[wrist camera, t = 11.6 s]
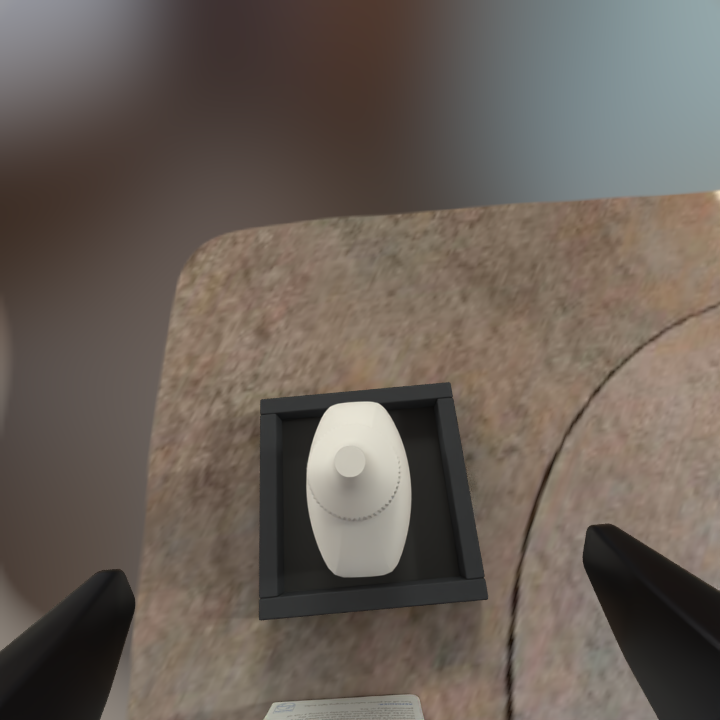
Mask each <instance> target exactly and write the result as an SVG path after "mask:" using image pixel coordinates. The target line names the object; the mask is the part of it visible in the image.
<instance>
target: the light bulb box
mask: <svg viewBox="0 0 720 720" xmlns="http://www.w3.org/2000/svg"><path fill="white" fill-rule="evenodd" d="M264 720H424V717H423V713H422V709H421V704H420V700H419V698H418V696H416V695H411V694H406V695H385V696H368V697H354V698H339V699H321V700H306V701H290V702H274V703H273V704H272V706H271V707H270V709H269V711H268V713H267V714H266V716H265V718H264Z"/></svg>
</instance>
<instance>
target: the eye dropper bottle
mask: <svg viewBox="0 0 720 720" xmlns="http://www.w3.org/2000/svg"><path fill="white" fill-rule="evenodd" d="M307 465H308V466H307V468H306V469H307V473H306V474H307V483H306V488H307V503H308V510H309V516H310V520H311V525H312V529H313V532H314V536H315V539H316V542H317V545H318V547H319V550H320V552H321V555H322V557H323V559H324V561H325V563H326V565H327V566H328V568H329V569H330V570H331V571H332V572H333V573H334V574H335V575H338V576H341V577H371V576H380V575H385V574H387V573H390V572H392V571H393V570H394V568H395V567H396V566H397V564H398V562H399V560H400V557H401V555H402V552H403V548H404V545H405V541H406V537H407V533H408V527H409V521H410V513H411V479H410V471H409V466H408V460H407V456H406V452H405V449H404V446H403V443H402V440H401V437H400V435H399V432H398V430H397V428H396V426H395V424H394V422H393V420H392V419H391V417H390V415H389V414H388V412H387V411H386V409H385V408H384V407H382V406H381V405H380V404H379V403H375V402H348V403H340V404H336V405H333V406H331V407H329V408H328V410H327V411H326V412H325V413H324V415H323V417H322V418H321V420H320V423H319V425H318V427H317V430H316V433H315V435H314V438H313V442H312V445H311V449H310V454H309V458H308V463H307Z"/></svg>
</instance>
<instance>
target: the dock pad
mask: <svg viewBox="0 0 720 720" xmlns="http://www.w3.org/2000/svg"><path fill="white" fill-rule="evenodd" d="M452 397H453V395H452V389H451V384H450V382H447V383H436V384H425V385H414V386H403V387H392V388H381V389H370V390H360V391H349V392H338V393H327V394H316V395H305V396H294V397H283V398H272V399H262V400H261V401H260V414H261V416H260V553H259V597H260V598H261V599H260V600H259V620H269V619H280V618H291V617H302V616H313V615H324V614H335V613H346V612H357V611H368V610H379V609H390V608H401V607H412V606H423V605H434V604H445V603H456V602H466V601H477V600H487V599H488V593H487V587H486V581H485V579H484V570H483V565H482V559H481V553H480V548H479V542H478V536H477V531H476V525H475V519H474V514H473V508H472V502H471V497H470V491H469V485H468V480H467V474H466V468H465V463H464V457H463V451H462V446H461V440H460V434H459V429H458V423H457V417H456V412H455V406H454V400H453V398H452ZM348 402H375V403H379V404H380V405H381V406H382V407H384V408H385V409H386V411H387V412H388V414H389V415H390V417H391V419H392V420H393V422H394V424H395V426H396V428H397V430H398V432H399V435H400V437H401V440H402V443H403V446H404V449H405V452H406V456H407V460H408V466H409V471H410V479H411V513H410V521H409V527H408V533H407V537H406V541H405V545H404V548H403V552H402V555H401V557H400V560H399V562H398V564H397V566H396V567H395V568H394V570H393V571H392V572H390V573H387V574H385V575H380V576H371V577H341V576H338V575H335V574H334V573H333V572H332V571H331V570H330V569H329V568H328V566H327V565H326V563H325V561H324V559H323V557H322V555H321V552H320V550H319V547H318V545H317V542H316V539H315V536H314V532H313V529H312V525H311V520H310V516H309V510H308V503H307V488H306V483H307V474H306V473H307V469H306V468H307V466H308V465H307V463H308V458H309V454H310V449H311V445H312V442H313V438H314V435H315V433H316V430H317V427H318V425H319V423H320V420H321V418H322V417H323V415H324V413H325V412H326V411H327V410H328V408H329V407H331V406H333V405H336V404H340V403H348Z"/></svg>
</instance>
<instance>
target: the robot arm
mask: <svg viewBox="0 0 720 720" xmlns="http://www.w3.org/2000/svg"><path fill="white" fill-rule="evenodd" d="M583 564H584V568H585V570H586V573H587V575H588V577H589V579H590V582H591V584H592V586H593V588H594V591H595V593H596V595H597V598H598V600H599V602H600V604H601V607H602V609H603V611H604V613H605V616H606V618H607V620H608V622H609V625H610V627H611V629H612V631H613V634H614V636H615V638H616V640H617V642H618V645H619V647H620V649H621V651H622V653H623V655H624V657H625V659H626V661H627V663H628V665H629V666H630V668H631V670H632V672H633V674H634V676H635V677H636V679H637V681H638V683H639V685H640V686H641V688H642V690H643V692H644V694H645V695H646V697H647V699H648V701H649V703H650V704H651V706H652V708H653V710H654V712H655V713H656V715H657V717H658V719H659V720H720V591H719V590H717V589H715V588H714V587H712V586H711V585H709V584H707V583H706V582H704V581H703V580H701V579H699V578H698V577H696V576H695V575H693V574H691V573H690V572H688V571H687V570H685V569H683V568H682V567H680V566H679V565H677V564H675V563H674V562H672V561H671V560H669V559H667V558H666V557H664V556H663V555H661V554H659V553H658V552H656V551H655V550H653V549H651V548H650V547H648V546H647V545H645V544H643V543H642V542H640V541H639V540H637V539H635V538H634V537H632V536H631V535H629V534H627V533H626V532H624V531H623V530H621V529H619V528H618V527H616V526H614V525H612V524H598V525H591V526H589V527H588V529H587V532H586V538H585V544H584V550H583ZM134 610H135V598H134V595H133V592H132V590H131V587H130V585H129V583H128V580H127V578H126V575H125V574H124V572H123V571H122V570H120V569H112V570H102V571H99V572H97V573H95V574H94V575H93V576H92V577H90V578H89V579H88V580H87V581H85V582H84V583H83V584H82V585H80V586H79V587H78V588H77V589H76V590H75V591H73V592H72V593H71V594H70V595H68V596H67V597H66V598H65V599H63V600H62V601H61V602H60V603H59V604H57V605H56V606H55V607H54V608H52V609H51V610H50V611H49V612H48V613H47V614H45V615H44V616H43V617H42V618H40V619H39V620H38V621H37V622H35V623H34V624H33V625H32V626H31V627H29V628H28V629H27V630H26V631H24V632H23V633H22V634H21V635H20V636H19V637H17V638H16V639H15V640H14V641H12V642H11V643H10V644H9V645H8V646H6V647H5V648H4V649H3V650H1V651H0V720H100V718H101V715H102V712H103V710H104V707H105V704H106V702H107V698H108V696H109V693H110V690H111V687H112V683H113V680H114V677H115V674H116V670H117V667H118V664H119V660H120V657H121V654H122V650H123V647H124V644H125V641H126V637H127V634H128V631H129V627H130V624H131V621H132V618H133V614H134Z"/></svg>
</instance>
